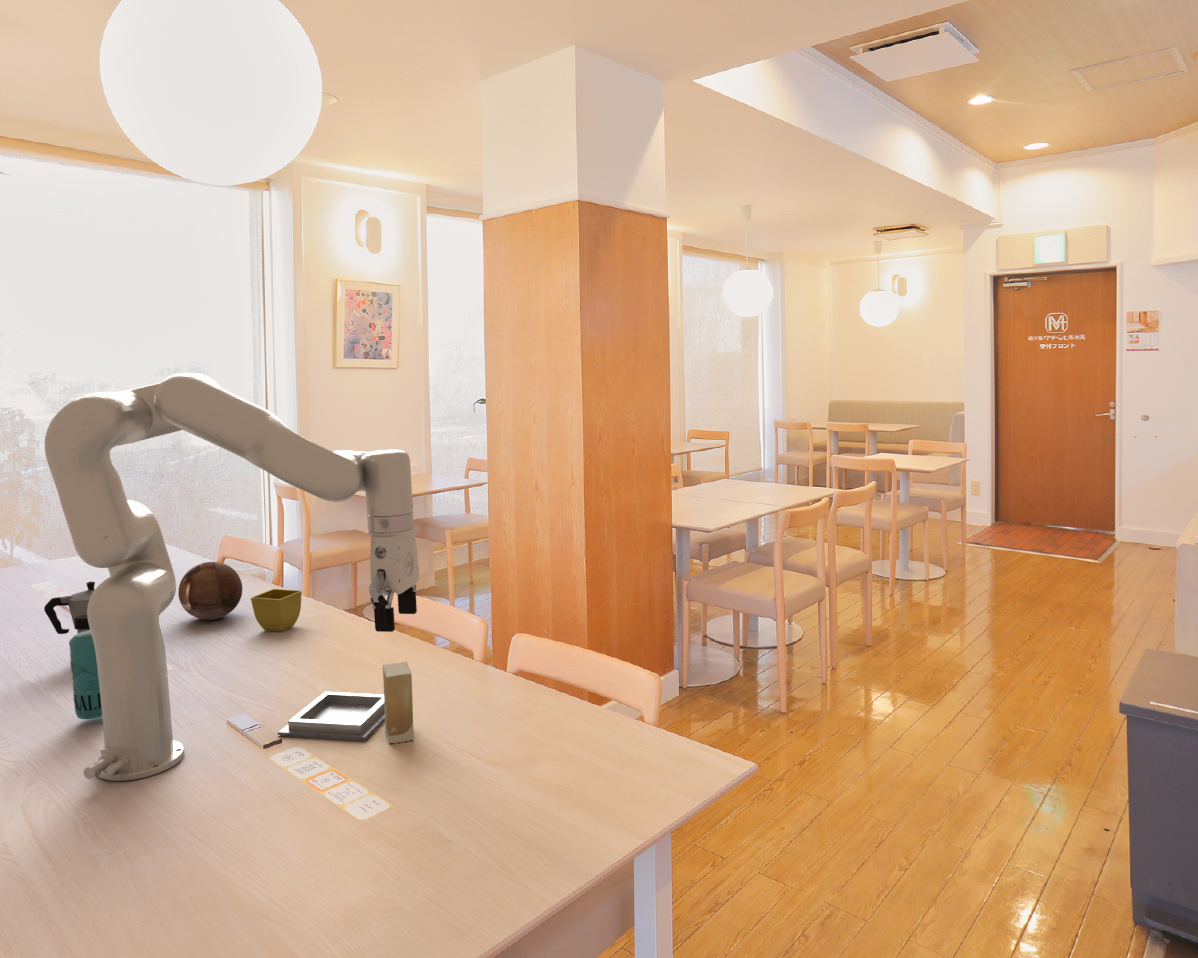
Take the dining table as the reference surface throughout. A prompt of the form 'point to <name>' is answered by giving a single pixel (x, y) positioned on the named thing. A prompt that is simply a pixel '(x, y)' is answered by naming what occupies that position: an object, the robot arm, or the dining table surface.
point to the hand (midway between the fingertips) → (396, 621)
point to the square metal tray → (338, 717)
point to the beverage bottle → (85, 672)
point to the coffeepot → (70, 607)
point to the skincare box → (398, 702)
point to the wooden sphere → (210, 590)
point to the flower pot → (277, 609)
